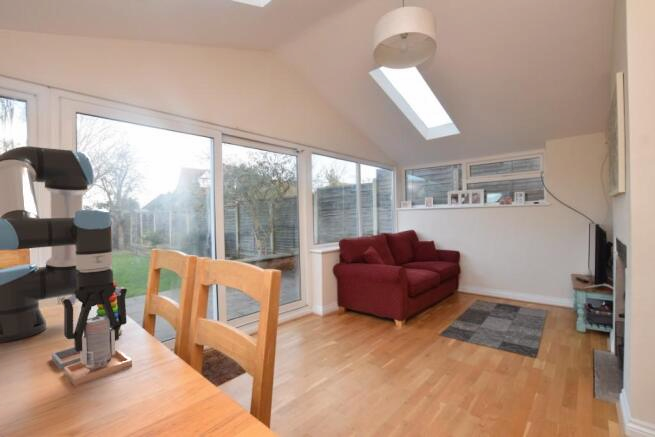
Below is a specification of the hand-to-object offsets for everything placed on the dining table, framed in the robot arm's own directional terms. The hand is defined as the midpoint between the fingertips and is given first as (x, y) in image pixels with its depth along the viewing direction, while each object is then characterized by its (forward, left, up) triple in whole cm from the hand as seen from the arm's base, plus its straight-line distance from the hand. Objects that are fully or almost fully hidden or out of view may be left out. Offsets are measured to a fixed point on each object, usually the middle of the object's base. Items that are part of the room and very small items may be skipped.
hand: (98, 357), depth 78 cm
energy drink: (0, 0, -2) cm, 2 cm away
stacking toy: (-24, +9, -3) cm, 26 cm away
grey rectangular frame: (-13, 0, -3) cm, 13 cm away
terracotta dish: (0, 0, -3) cm, 3 cm away
